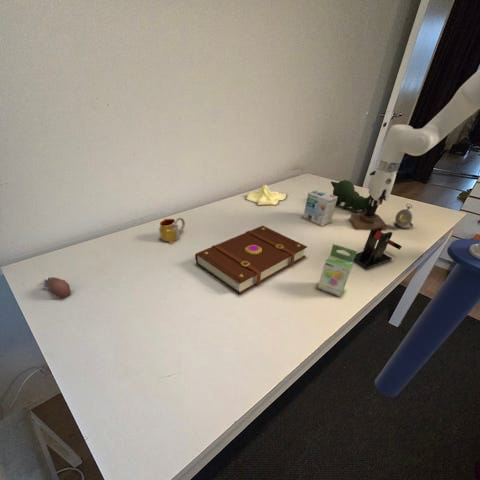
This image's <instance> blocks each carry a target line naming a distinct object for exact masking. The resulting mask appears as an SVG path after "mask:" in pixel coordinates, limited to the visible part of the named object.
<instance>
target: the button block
mask: <svg viewBox="0 0 480 480" xmlns="http://www.w3.org/2000/svg"><path fill="white" fill-rule="evenodd" d="M365 214H366V212H363V213H362V212H361V214H359V213H351V214H350V216H349V221H350V222H351V224H352V225H353V227H354V228H355V229H356V230H367V231H368V230H369V231H371V229H374V228H377V227H382V228H383V229H382V231H385V230H386V228H387V223H386V222H385V221H384V220H383V219H382V217H381V216H380V215H379V214H377V213H375V217H374V218H370V217H366V216H365Z"/></svg>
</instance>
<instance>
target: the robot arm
mask: <svg viewBox="0 0 480 480" xmlns="http://www.w3.org/2000/svg"><path fill="white" fill-rule="evenodd" d="M479 110H480V68H479V69H478V70H476V72H475V73H473V74H472V75H471V76H470V77H469V78H468V79H467V80H466V81H465V82H464V83H462V85H461V86H460V87H459V88H458V89H457V90H456V92H455V93H454V95H453V96H452V98H451V99H450V101H449V102H448V103H447V104H446V105H445V106H444V107H443V108H442V109H441V110H440V111H439V112H438V113H437V114H436V115H435V116H433V118H432V119H431V120H430V121H429V122H427V123H426V124H425V125H424V126H423V127H422V128H421V127H420V128H414V127H413V126H411V125H408V124H393V125H392V126H391V127H390V129H389V131H388V133H387V136H386V139H385V142H384V145H383V148H382V150H381V153H380V157H379V159H378V162H377V164H376V168H375V171H376V172H375V175H373V176H372V180H371V183H370V185H369V188H368V194H369V196H370V201H369V205H368V208H367V211H366V215H367V216H374V215H375V214H376V212H377V209H378V207H379V206H382V204H383V201H385V202H387V201H388V200H389V199H390V196H391V193H392V190H393V188H394V184H395V181H396V178H397V177H396V176H397V173H398V171H399V168H400V165H401V163H402V160H403V158H404V157H405V154H406V155H407V154H408V155H410V156H413V157H414V156H415V157H417V156H422V155H424V154H426V153H427V152H428V151H430V150H431V149H433V148H434V147H435V146H436V145H437V144H439V143H440V142H441V141H442V140H443V139H445V138H446V137H447V136H449V134H450V133H451V132H453V131H454V130H455V129H456V128H457V127H459V126H460V125H461V124H463V122H464V121H466V120H467V119H468V118H470V117H471V116H472V115H474V114H476V113H477V112H478V111H479ZM469 252H470V253H471V254H472V255H473V256H474V257H476V258H478V259H480V242H479V244H474V245H472V246H470V248H469Z"/></svg>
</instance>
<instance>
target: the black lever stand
mask: <svg viewBox="0 0 480 480" xmlns="http://www.w3.org/2000/svg"><path fill="white" fill-rule="evenodd" d="M382 229H383V228H382V227H377V228H374V229H371V230H369V231H370V232H369V234H368V237H367V239H366V242H365V245H364V247H363V250H362V251H361V252H357V253H356V256H355V258H354V261H353V263H355V264H357V265H358V266H360V267H361V268H363V269H365V270H367V271H368V270H370V269H373V268H376V267H379V266H381V265H384V264H387V263H389V262H391V261H392V259H393V258H392V257H391V256H389V255H388V254H385V251H386V249H387V247H388V245H389V244H388V242H389V240H391V238H392V236H393V234H394V232H392V231H388V232H383V230H382ZM377 231H380V232H383V233H384V234H381V236H380V238H379V240H377V239H376V238H374V237H373V236H374V235H375V234H376V232H377Z"/></svg>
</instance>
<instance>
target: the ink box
mask: <svg viewBox="0 0 480 480" xmlns="http://www.w3.org/2000/svg"><path fill="white" fill-rule="evenodd" d="M331 246H332V247H331V249H330V253H329V256H327V258H326V259H325V261H324V264H323V267H322V271H321V274H320V278H319V282H318V285H317V286H318V287H317V289H318V290H321V291H324V292H326V293H329V294H332V295H335V296H337V297H340V296H341V294H342V293H343V291H344V290H345V287H346V284H347V281H348V278H349V276H350V273H351V270H352V268H353V265H354V258H355V256H356V254H357V253H358V250H355V249H351V248H348V247H345V246H341V245H338V244H332V245H331ZM338 251H343V252H346V253H347V254H344V253H341V252H338ZM348 254H349V255H348Z"/></svg>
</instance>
